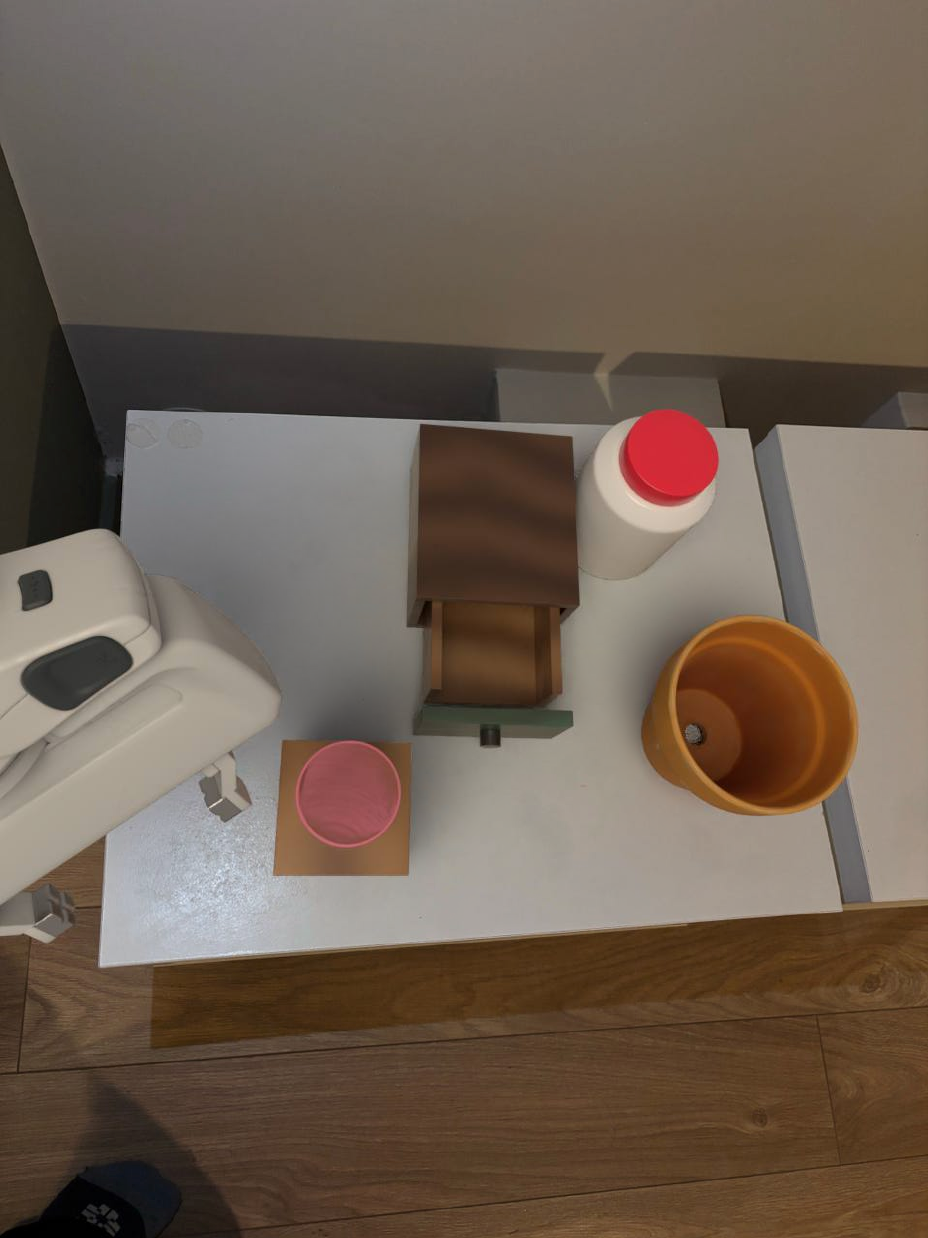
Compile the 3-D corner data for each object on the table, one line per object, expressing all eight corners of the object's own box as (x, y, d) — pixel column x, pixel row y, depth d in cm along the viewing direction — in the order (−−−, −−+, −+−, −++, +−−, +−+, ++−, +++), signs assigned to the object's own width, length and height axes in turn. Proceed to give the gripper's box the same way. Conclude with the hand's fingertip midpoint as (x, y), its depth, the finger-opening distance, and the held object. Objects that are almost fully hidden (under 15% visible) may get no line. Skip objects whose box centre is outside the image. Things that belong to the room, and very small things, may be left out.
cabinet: (552, 634, 70) (580, 605, 62) (406, 627, 68) (416, 596, 60) (547, 480, 74) (572, 436, 66) (410, 470, 72) (419, 423, 64)
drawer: (551, 753, 66) (574, 742, 60) (412, 750, 64) (420, 738, 58) (546, 583, 70) (567, 557, 64) (415, 575, 68) (424, 548, 62)
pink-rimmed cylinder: (298, 851, 48) (291, 847, 38) (303, 762, 49) (298, 738, 40) (386, 851, 49) (400, 848, 39) (388, 764, 50) (402, 741, 41)
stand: (285, 873, 61) (272, 875, 47) (291, 766, 63) (282, 739, 50) (391, 873, 62) (409, 875, 49) (394, 768, 64) (411, 742, 51)
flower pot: (628, 836, 65) (697, 829, 53) (593, 667, 69) (651, 624, 57) (784, 810, 68) (884, 798, 56) (743, 649, 72) (828, 604, 60)
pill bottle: (541, 488, 73) (590, 403, 60) (641, 468, 76) (710, 382, 62) (575, 591, 71) (634, 526, 57) (677, 567, 73) (757, 499, 60)
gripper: (-395, 959, 25) (-45, 1059, 35) (180, 591, 27) (355, 785, 37) (-348, 810, 29) (-48, 937, 39) (144, 504, 31) (309, 698, 41)
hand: (150, 861), depth 38 cm, fingers open, 8 cm apart
